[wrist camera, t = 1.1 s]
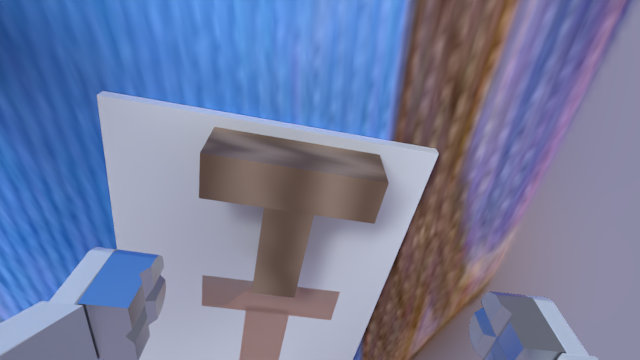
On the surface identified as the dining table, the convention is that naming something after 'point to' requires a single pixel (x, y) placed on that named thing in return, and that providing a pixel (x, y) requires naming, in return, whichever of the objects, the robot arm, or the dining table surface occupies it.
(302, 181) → the t block
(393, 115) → the dining table surface
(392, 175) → the mat
